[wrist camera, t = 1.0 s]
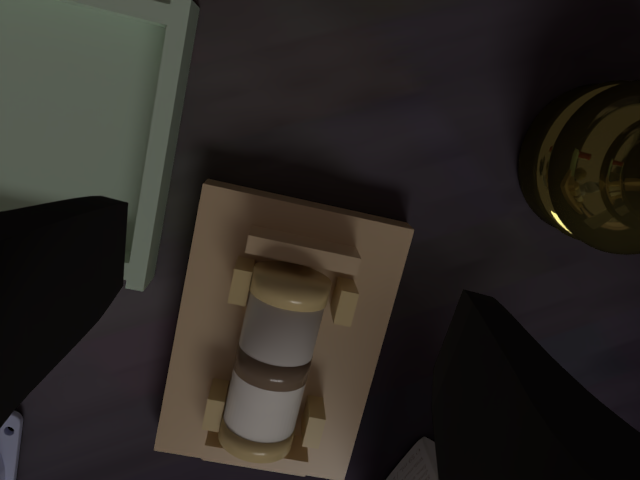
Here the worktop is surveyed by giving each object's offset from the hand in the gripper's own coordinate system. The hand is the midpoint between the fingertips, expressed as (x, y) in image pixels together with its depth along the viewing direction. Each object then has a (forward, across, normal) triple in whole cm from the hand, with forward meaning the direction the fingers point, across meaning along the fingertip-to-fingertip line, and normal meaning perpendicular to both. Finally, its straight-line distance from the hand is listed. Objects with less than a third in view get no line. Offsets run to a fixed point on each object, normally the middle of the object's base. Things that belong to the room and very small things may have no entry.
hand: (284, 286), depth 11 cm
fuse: (+12, +1, +10) cm, 16 cm away
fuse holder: (+14, +1, +11) cm, 17 cm away
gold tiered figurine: (+18, -12, -1) cm, 22 cm away
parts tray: (+13, +14, +2) cm, 19 cm away
